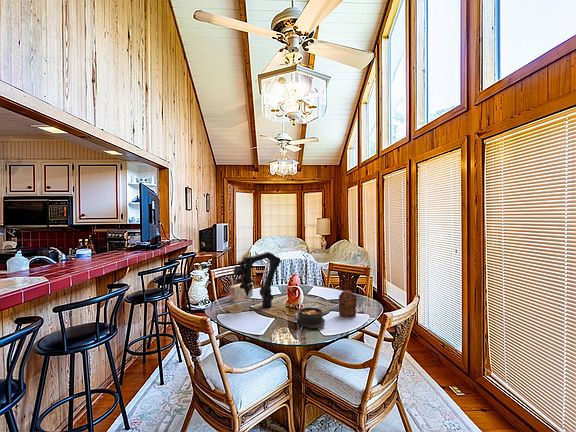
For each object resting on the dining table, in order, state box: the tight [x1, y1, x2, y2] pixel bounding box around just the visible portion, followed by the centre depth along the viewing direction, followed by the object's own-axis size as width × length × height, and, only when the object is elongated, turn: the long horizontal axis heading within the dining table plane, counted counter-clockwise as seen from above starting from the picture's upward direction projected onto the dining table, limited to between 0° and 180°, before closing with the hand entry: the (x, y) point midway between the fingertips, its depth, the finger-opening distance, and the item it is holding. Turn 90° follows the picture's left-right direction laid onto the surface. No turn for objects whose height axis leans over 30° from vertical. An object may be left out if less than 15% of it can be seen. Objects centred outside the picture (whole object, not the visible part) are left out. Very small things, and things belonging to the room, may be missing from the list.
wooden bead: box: [228, 303, 244, 314], centre depth 230 cm, size 10×10×4 cm
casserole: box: [296, 307, 326, 329], centre depth 202 cm, size 25×19×8 cm
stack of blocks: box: [228, 283, 254, 303], centre depth 262 cm, size 21×6×12 cm, turn 144°
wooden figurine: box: [338, 289, 357, 319], centre depth 216 cm, size 12×6×18 cm, turn 95°
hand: (247, 295), depth 228 cm, fingers closed on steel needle, 3 cm apart
